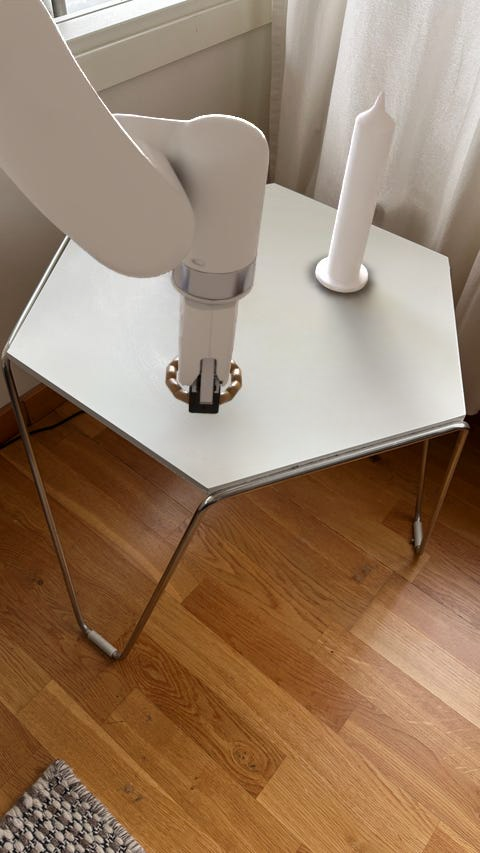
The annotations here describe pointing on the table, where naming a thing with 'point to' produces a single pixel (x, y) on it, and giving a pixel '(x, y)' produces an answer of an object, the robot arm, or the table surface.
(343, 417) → the table surface
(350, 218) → the candle
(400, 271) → the table surface
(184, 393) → the ring
